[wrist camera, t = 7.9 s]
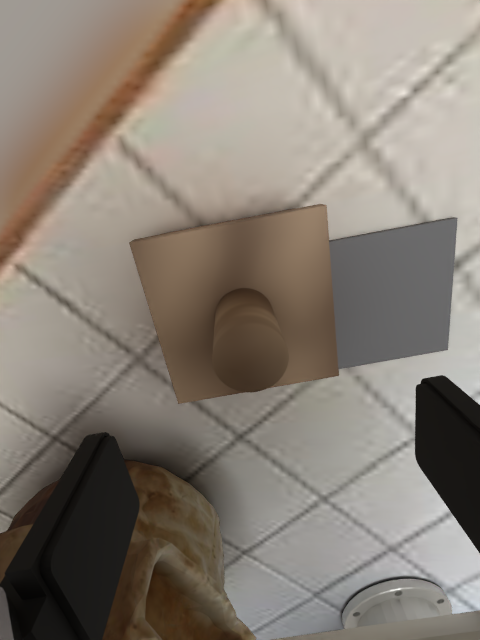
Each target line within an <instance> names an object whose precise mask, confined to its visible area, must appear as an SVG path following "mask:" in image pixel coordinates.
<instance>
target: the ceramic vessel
mask: <svg viewBox="0 0 480 640" xmlns="http://www.w3.org/2000/svg"><path fill="white" fill-rule="evenodd" d="M124 462H125V464H126V467H127V469H128V472H129V475H130V477H131V480H132V482H133V485H134V487H135V490H136V492H137V495H138V498H139V503H140V507H139V513H138V517H137V520H136V523H135V527H134V530H133V534H132V537H131V541H130V544H129V548H128V551H127V555H126V558H125V562H124V565H123V569H122V572H121V576H120V579H119V583H118V586H117V590H116V593H115V597H114V600H113V604H112V607H111V611H110V614H109V618H108V621H107V625H106V628H105V632H104V635H103V638H102V640H256V637H255V636H254V635H253V633H252V632H251V631H250V630H249V628H248V627H247V626H246V625H245V624H244V623H243V622H242V621H241V620H239V619H238V618H237V617H236V612H235V610H234V608H233V606H232V604H231V603H230V601H229V599H228V598H227V594H226V592H225V590H224V562H223V557H224V555H223V547H222V537H221V533H220V529H219V525H220V520H219V517H218V515H217V513H216V511H215V509H214V508H213V506H212V505H211V504H210V503H209V502H208V501H207V500H206V498H205V497H204V496H203V495H202V494H201V493H200V492H199V491H197V490H196V489H195V488H194V487H193V486H191V485H190V484H189V483H188V482H186V481H184V480H182V479H181V478H179V477H177V476H175V475H174V474H172V473H171V472H169V471H168V470H166V469H164V468H162V467H158V466H154V465H149V464H145V463H141V462H137V461H132V460H124ZM58 482H59V480H58V481H56V482H54V483H52V484H50V485H49V486H47V487H45V488H43V489H42V490H41V491H39V492H38V493H37V494H36V495H35V496H34V497H33V498H32V499H31V500H30V501H29V502H28V503H26V504H25V505H24V507H23V508H22V509H21V510H20V511H19V512H18V513H17V514H16V515H15V517H14V519H13V521H12V523H11V525H10V527H9V528H8V530H7V531H6V532H3V533H0V583H1V581H2V580H3V578H4V576H5V571H6V569H7V568H8V566H9V564H10V563H11V561H12V559H13V558H14V556H15V554H16V553H17V551H18V549H19V547H20V546H21V544H22V542H23V541H24V539H25V537H26V536H27V534H28V532H29V531H30V529H31V527H32V526H33V524H34V522H35V521H36V519H37V517H38V516H39V514H40V512H41V511H42V509H43V507H44V506H45V504H46V502H47V500H48V499H49V497H50V495H51V494H52V492H53V490H54V489H55V487H56V485H57V484H58Z"/></svg>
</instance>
